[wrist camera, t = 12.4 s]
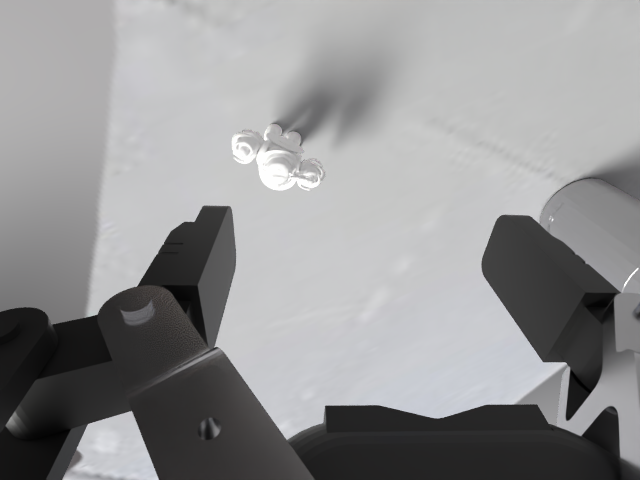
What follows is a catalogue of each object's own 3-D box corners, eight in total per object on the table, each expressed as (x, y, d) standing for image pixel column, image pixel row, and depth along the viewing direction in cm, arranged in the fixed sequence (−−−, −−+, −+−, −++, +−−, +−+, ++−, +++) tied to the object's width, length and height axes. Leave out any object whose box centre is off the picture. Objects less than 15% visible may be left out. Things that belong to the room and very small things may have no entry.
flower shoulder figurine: (326, 138, 39) (334, 181, 29) (311, 168, 41) (314, 218, 31) (250, 102, 37) (229, 135, 27) (238, 136, 39) (214, 178, 29)
